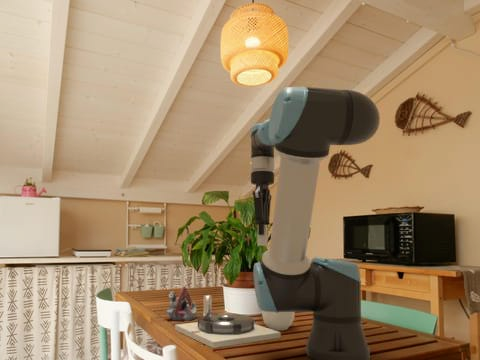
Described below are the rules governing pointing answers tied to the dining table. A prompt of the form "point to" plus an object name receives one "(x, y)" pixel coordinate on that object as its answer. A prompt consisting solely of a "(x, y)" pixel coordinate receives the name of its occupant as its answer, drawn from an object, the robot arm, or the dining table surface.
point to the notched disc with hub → (223, 320)
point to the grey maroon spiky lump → (181, 306)
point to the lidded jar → (278, 320)
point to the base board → (227, 335)
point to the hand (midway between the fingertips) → (262, 245)
